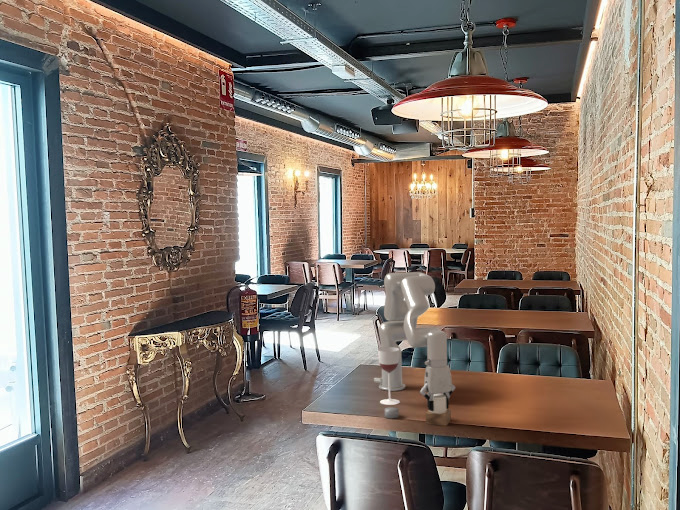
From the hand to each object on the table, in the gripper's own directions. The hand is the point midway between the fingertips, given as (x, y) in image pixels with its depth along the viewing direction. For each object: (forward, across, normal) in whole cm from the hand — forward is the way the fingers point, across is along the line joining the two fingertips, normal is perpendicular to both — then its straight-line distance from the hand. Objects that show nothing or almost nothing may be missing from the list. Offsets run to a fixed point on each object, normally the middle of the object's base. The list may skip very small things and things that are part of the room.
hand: (438, 408), depth 222 cm
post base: (+5, 0, 0) cm, 5 cm away
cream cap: (+1, 0, 0) cm, 1 cm away
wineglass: (+5, -5, +32) cm, 33 cm away
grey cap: (+5, -13, +14) cm, 20 cm away
